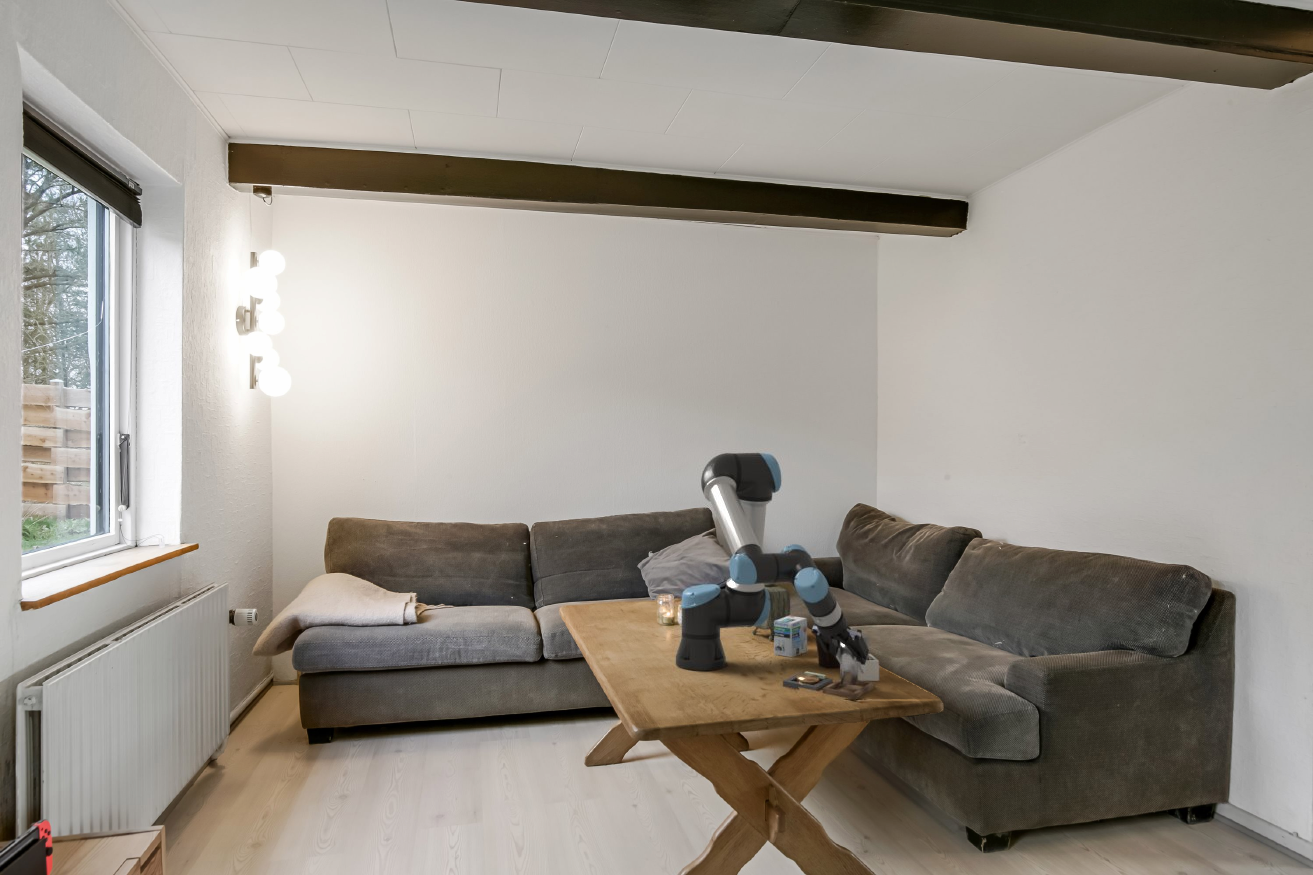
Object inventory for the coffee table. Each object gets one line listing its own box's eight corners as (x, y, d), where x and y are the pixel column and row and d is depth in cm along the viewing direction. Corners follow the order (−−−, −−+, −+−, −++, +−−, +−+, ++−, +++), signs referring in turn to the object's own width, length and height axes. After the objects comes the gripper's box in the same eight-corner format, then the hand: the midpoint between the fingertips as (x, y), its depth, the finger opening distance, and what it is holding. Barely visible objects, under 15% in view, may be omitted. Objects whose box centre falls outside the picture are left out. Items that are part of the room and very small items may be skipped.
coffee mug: (825, 662, 242) (825, 629, 243) (850, 667, 236) (850, 633, 236) (803, 669, 234) (803, 635, 234) (828, 675, 228) (828, 640, 228)
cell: (842, 685, 209) (842, 640, 209) (838, 680, 214) (838, 636, 214) (860, 685, 209) (860, 640, 210) (855, 680, 214) (855, 636, 214)
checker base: (816, 692, 211) (816, 684, 211) (782, 685, 218) (782, 677, 218) (832, 684, 219) (832, 676, 219) (800, 677, 225) (800, 669, 225)
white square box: (851, 682, 220) (851, 661, 221) (844, 675, 228) (844, 654, 228) (879, 682, 221) (878, 660, 221) (870, 674, 228) (870, 653, 228)
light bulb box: (792, 657, 248) (792, 623, 248) (773, 654, 252) (773, 620, 252) (807, 651, 256) (807, 617, 256) (789, 648, 260) (789, 615, 260)
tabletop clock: (747, 633, 280) (747, 562, 281) (768, 631, 284) (768, 561, 285) (769, 642, 267) (769, 568, 268) (792, 640, 271) (792, 566, 272)
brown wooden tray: (854, 701, 204) (854, 694, 204) (822, 694, 209) (822, 688, 209) (875, 689, 214) (875, 683, 214) (843, 683, 220) (843, 677, 220)
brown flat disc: (812, 686, 214) (812, 680, 214) (792, 682, 218) (792, 677, 218) (822, 681, 219) (822, 675, 219) (803, 677, 223) (803, 672, 223)
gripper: (791, 623, 205) (821, 673, 218) (855, 632, 195) (882, 685, 207) (801, 599, 210) (829, 650, 222) (864, 607, 199) (890, 660, 211)
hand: (855, 667), depth 215 cm, fingers closed on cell, 4 cm apart
